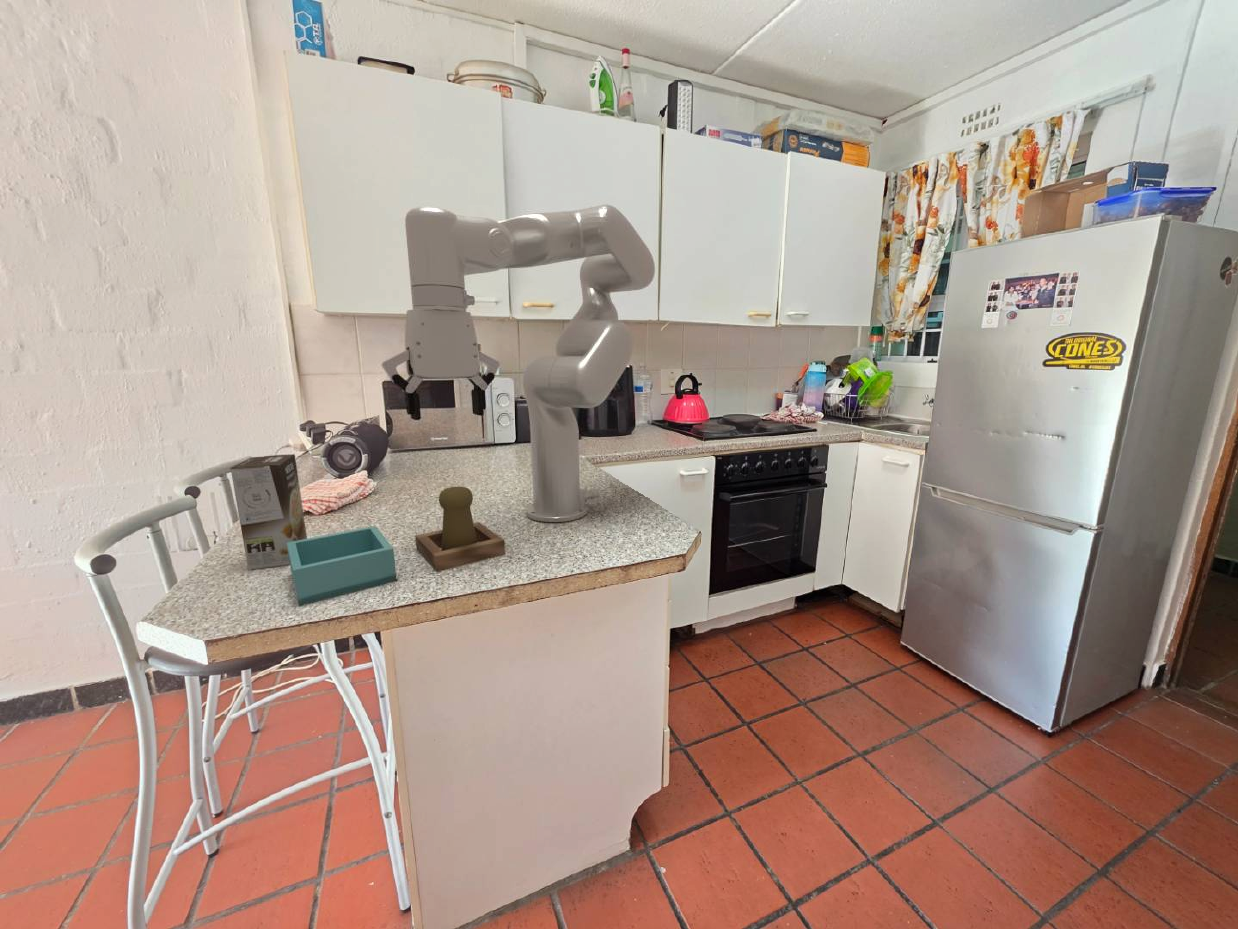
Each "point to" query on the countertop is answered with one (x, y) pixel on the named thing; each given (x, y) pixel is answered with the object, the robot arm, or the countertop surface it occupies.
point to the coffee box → (268, 508)
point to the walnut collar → (459, 549)
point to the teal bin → (340, 564)
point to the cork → (457, 518)
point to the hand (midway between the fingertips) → (448, 416)
